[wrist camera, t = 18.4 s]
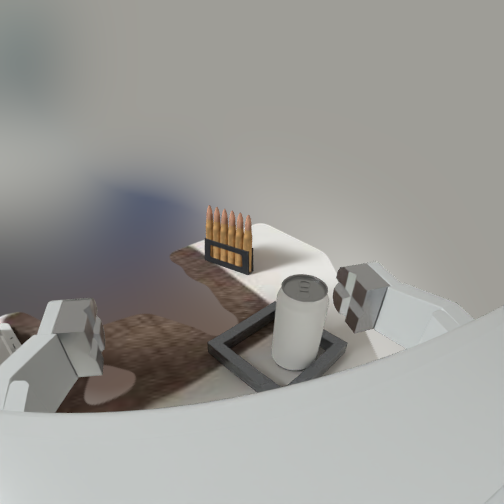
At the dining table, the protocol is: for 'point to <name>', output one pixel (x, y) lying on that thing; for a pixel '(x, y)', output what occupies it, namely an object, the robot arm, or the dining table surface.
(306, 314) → the can
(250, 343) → the dining table surface
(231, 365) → the dark grey square frame
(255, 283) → the dining table surface
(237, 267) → the ammunition clip
